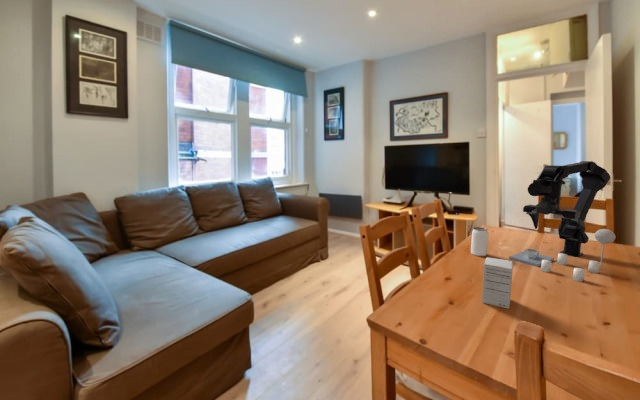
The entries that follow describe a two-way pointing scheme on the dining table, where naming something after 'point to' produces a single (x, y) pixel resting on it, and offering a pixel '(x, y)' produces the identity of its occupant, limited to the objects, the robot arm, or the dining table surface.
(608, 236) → the lollipop
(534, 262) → the board
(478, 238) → the can
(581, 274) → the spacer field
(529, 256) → the grey faceted polyhedron
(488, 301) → the supplement box
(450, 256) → the dining table surface
